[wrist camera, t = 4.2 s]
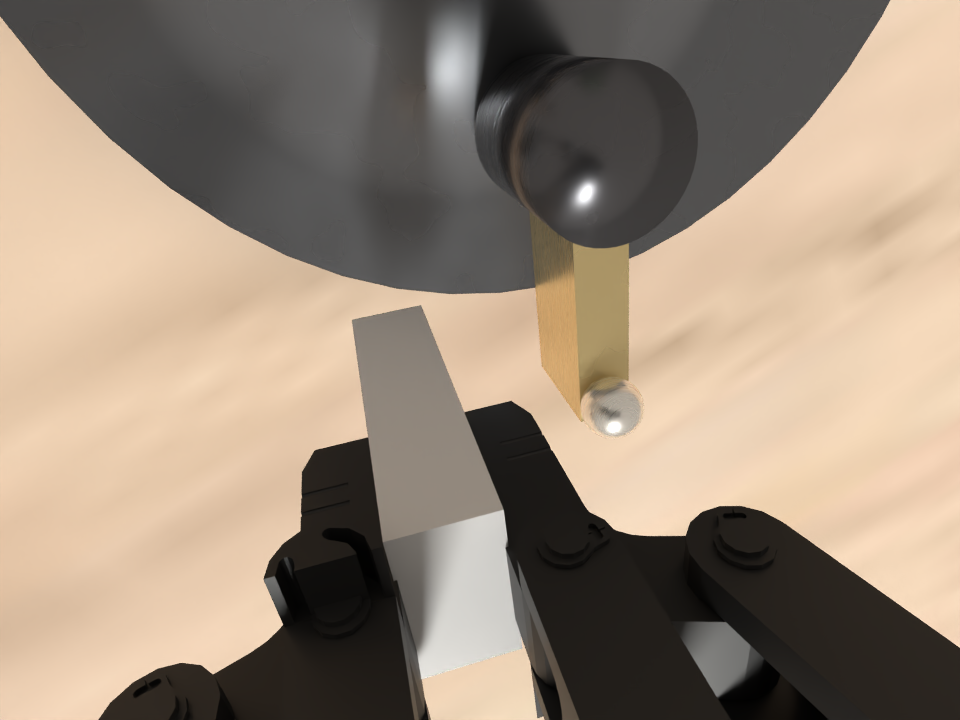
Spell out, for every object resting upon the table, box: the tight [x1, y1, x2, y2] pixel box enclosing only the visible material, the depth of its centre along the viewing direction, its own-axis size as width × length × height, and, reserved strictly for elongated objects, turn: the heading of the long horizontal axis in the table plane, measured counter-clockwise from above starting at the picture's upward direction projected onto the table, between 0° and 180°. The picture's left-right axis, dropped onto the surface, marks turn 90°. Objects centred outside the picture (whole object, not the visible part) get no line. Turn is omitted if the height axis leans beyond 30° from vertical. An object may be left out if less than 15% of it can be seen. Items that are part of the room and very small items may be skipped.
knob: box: [475, 54, 698, 438], centre depth 13 cm, size 8×3×4 cm, turn 7°
